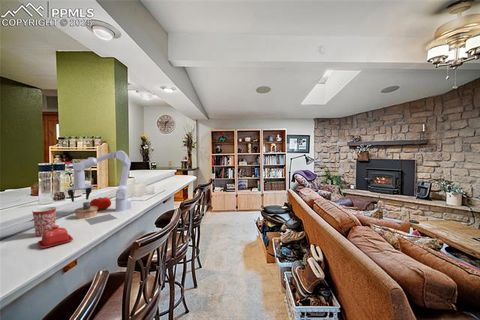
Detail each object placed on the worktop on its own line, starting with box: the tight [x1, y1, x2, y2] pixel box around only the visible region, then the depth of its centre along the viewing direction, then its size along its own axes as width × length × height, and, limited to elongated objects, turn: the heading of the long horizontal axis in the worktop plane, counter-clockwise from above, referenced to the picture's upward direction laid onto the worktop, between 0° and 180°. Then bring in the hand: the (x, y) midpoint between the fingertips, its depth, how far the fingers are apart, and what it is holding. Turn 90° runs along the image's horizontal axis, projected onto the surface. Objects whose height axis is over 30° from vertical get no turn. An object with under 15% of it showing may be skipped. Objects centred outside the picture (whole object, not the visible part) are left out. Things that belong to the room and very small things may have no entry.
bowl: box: [75, 210, 98, 220], centre depth 133 cm, size 11×11×4 cm
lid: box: [74, 201, 99, 214], centre depth 132 cm, size 12×12×6 cm
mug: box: [32, 206, 57, 238], centre depth 107 cm, size 13×9×14 cm
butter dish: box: [37, 224, 74, 249], centre depth 96 cm, size 12×12×8 cm
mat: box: [83, 213, 118, 226], centre depth 127 cm, size 14×14×1 cm
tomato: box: [89, 196, 112, 211], centre depth 150 cm, size 14×13×9 cm
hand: (80, 200), depth 135 cm, fingers open, 7 cm apart
